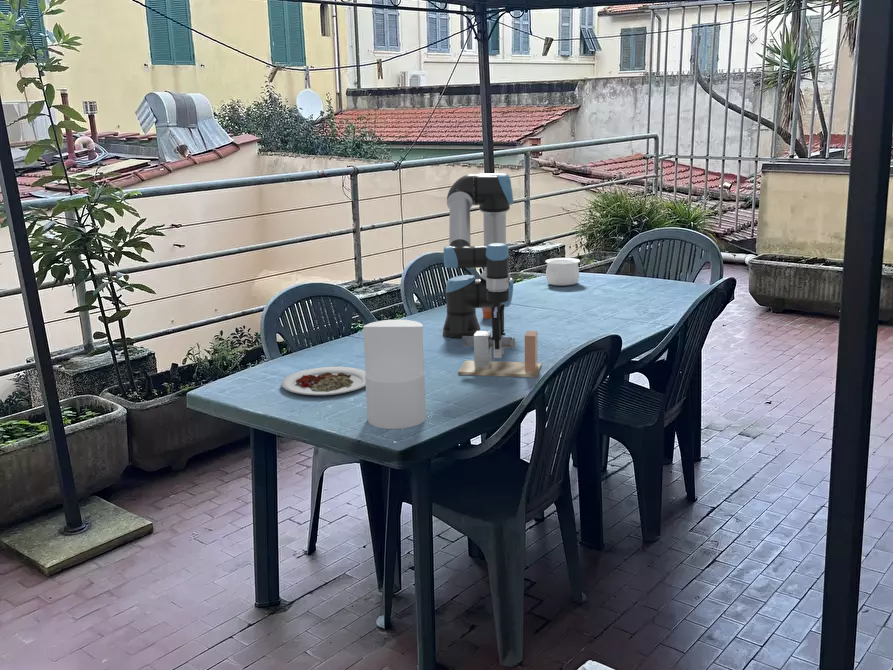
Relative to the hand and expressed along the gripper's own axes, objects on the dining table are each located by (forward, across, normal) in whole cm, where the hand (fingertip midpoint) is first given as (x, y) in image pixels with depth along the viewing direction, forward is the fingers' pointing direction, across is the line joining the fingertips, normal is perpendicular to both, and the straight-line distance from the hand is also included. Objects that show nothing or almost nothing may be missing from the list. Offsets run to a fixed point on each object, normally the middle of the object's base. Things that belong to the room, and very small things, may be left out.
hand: (498, 355), depth 300 cm
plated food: (+6, -23, +54) cm, 59 cm away
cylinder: (+5, -52, +22) cm, 57 cm away
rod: (-3, 0, +3) cm, 5 cm away
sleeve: (+5, 0, +6) cm, 7 cm away
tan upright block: (+5, 0, -11) cm, 12 cm away
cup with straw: (+5, +77, +16) cm, 79 cm away
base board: (+5, 0, 0) cm, 5 cm away
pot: (+5, +151, -10) cm, 151 cm away
